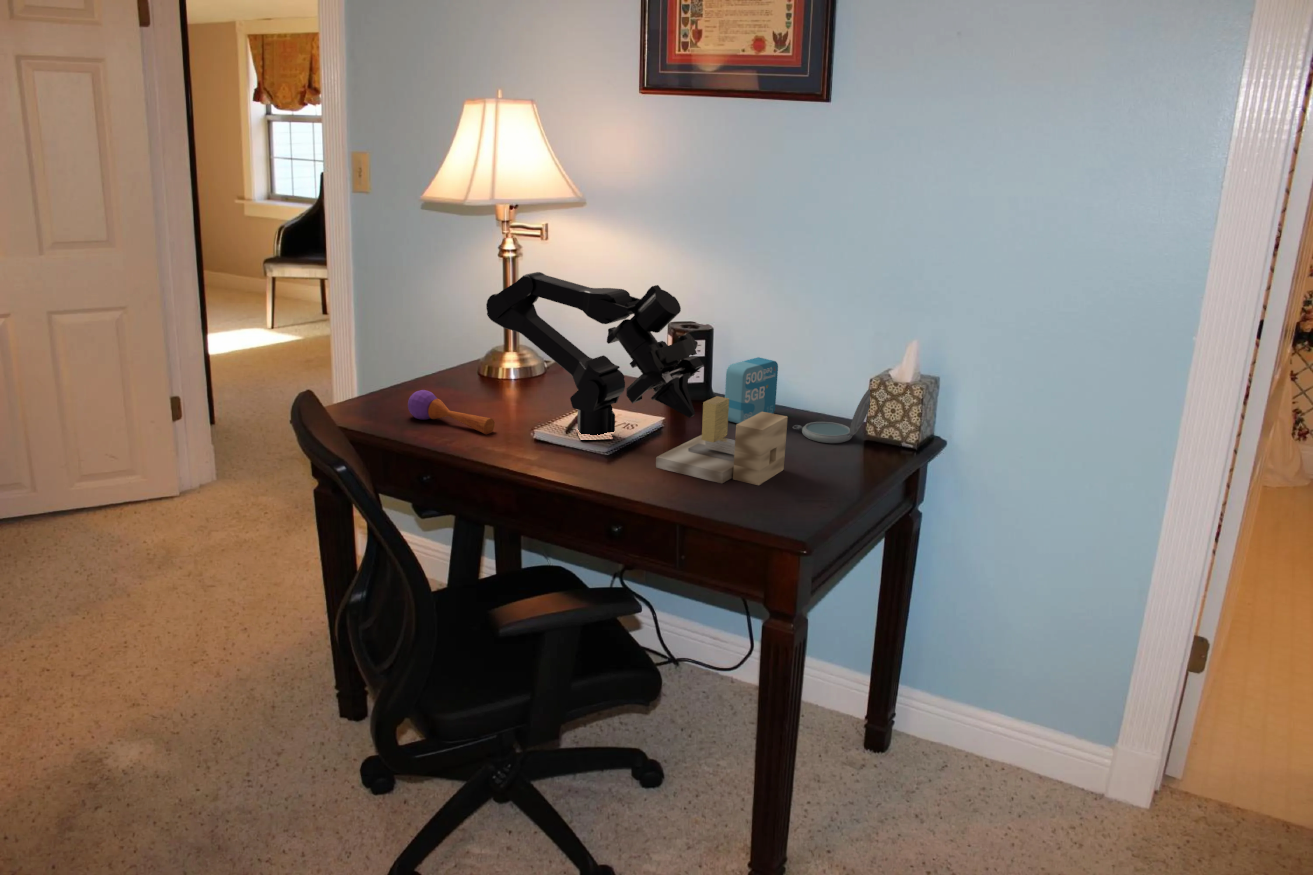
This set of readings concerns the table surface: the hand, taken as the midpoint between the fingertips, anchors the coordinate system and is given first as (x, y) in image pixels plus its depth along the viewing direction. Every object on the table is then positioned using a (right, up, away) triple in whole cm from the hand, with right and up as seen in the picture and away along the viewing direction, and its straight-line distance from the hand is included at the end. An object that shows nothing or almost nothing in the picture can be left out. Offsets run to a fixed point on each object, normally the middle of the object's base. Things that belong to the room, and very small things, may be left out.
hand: (692, 416), depth 194 cm
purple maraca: (-47, -2, +18) cm, 51 cm away
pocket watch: (+28, -4, +18) cm, 33 cm away
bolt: (+6, -6, -2) cm, 9 cm away
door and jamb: (+6, -9, -1) cm, 11 cm away
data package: (+13, 0, +28) cm, 31 cm away
